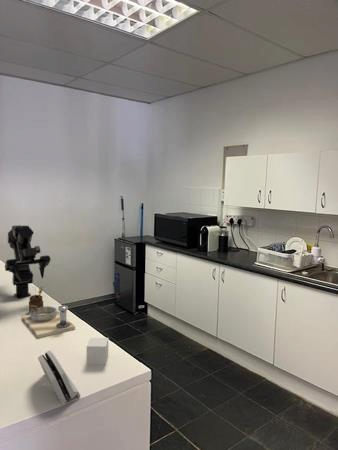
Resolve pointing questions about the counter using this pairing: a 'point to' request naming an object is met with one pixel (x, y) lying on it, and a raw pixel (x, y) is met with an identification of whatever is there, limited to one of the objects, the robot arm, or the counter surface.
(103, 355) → the grey cube
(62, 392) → the grey electronic device
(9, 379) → the counter surface
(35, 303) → the utensil holder
